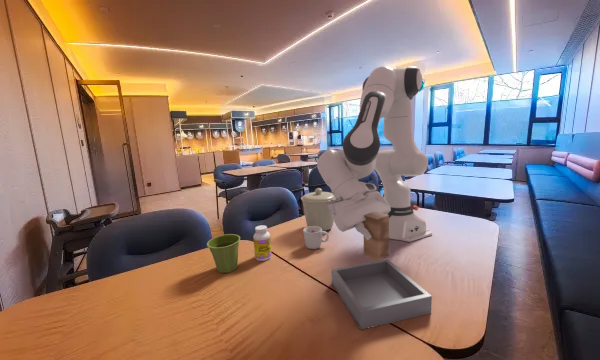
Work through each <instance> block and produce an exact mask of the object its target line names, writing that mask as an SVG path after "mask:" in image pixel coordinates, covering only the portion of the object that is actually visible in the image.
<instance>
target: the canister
mask: <svg viewBox="0 0 600 360" xmlns="http://www.w3.org/2000/svg"><path fill="white" fill-rule="evenodd" d="M335 199H336V198H335V197H334V195H333V194H332V192H330V191H329V192H328V191H323V189H322V188H320V187H317V188H315V190H314V191H313V192H308V193H306V194H304V195H302V196H301V197H300V200H301V201H302V205H303V212H304V218H305V222H306V227H309V226H318V227H320V228H321V229H322V231H326V232H327V231H329V230H330V229H332V228H333V226H334V223H335V222H334V220H333V217H332V215H331V212H330V210H329V209H328V203H329V201H330V200H335Z"/></svg>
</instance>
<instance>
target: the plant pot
mask: <svg viewBox="0 0 600 360" xmlns="http://www.w3.org/2000/svg"><path fill="white" fill-rule="evenodd" d="M240 241H241V236H240V235H238V234H234V233H228V234H227V233H226V234H222V235H217V236H215V237H213V238H211V239H209V240H208V241H207V243H206V246H207V247H208V248H209V251H210V253H211V255H212V258H213V261H214V263H215V264H214V265H215V266H216V269H217V272H219V273H221V274H224V273H231V272H233V271H235V270H236V269H237V267H238V261H239V260H238V258H239V257H238V256H239V247H240V246H239V245H240Z"/></svg>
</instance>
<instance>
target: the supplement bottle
mask: <svg viewBox="0 0 600 360" xmlns="http://www.w3.org/2000/svg"><path fill="white" fill-rule="evenodd" d="M254 231H255V233H254V234H253V237H252V238H253V246H254V247H253V248H254V258H255V260H257V261H259V262H264V261H267V260H270V259H271V257H272V244H271V243H272V242H271V233H270V232H269V231H268V227H267V225H263V224H262V225H257V226H255V228H254Z"/></svg>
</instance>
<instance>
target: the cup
mask: <svg viewBox="0 0 600 360" xmlns="http://www.w3.org/2000/svg"><path fill="white" fill-rule="evenodd" d="M302 232H303V237H304V238H303V239H304V244H305V247H306V248H307V249H309V250H316V249H319V248H320V247H321V246H322V243H326V242H328V241H329V236H330V235H329V233H328V232H327V230H326V231H322V229H321V228H320V227H318V226H309V227H308V226H305V227H304V228H303V230H302ZM323 235H326V239H324V238H323Z"/></svg>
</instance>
